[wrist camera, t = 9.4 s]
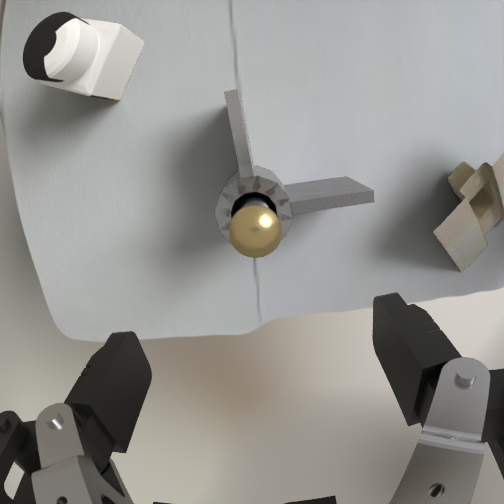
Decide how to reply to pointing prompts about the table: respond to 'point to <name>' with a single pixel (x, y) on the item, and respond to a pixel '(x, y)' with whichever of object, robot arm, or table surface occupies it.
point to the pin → (255, 227)
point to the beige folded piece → (473, 211)
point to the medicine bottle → (82, 55)
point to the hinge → (278, 183)
